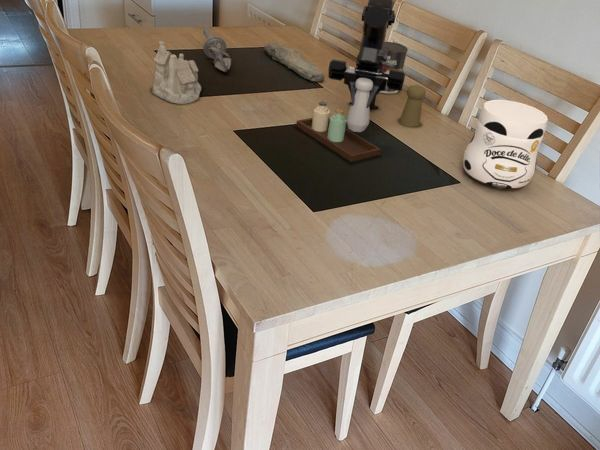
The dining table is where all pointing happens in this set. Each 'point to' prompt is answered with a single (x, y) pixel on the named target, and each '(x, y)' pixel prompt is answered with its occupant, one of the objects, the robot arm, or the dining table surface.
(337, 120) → the sage bottle
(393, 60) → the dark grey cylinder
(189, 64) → the ceramic cottage
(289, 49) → the long grey stone
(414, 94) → the olive pawn
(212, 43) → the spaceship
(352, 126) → the salt shaker
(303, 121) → the tray
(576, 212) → the dining table surface
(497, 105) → the doce de leite jar
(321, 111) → the cream bottle
